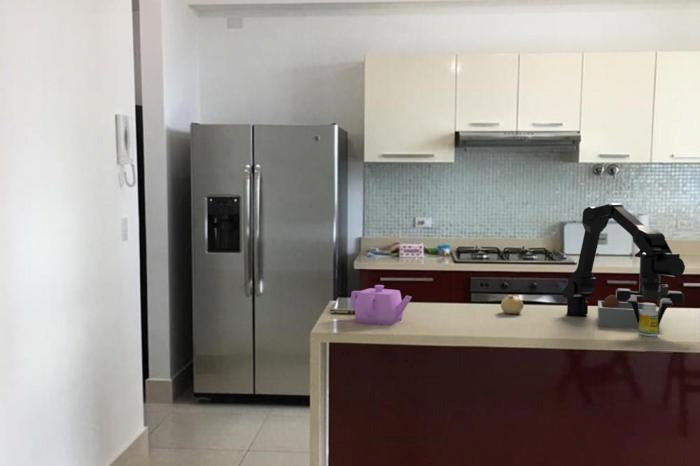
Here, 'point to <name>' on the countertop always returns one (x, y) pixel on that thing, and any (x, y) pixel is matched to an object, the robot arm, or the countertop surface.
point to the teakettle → (378, 305)
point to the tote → (619, 315)
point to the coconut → (611, 302)
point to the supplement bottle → (648, 320)
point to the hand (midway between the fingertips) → (648, 323)
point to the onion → (512, 304)
